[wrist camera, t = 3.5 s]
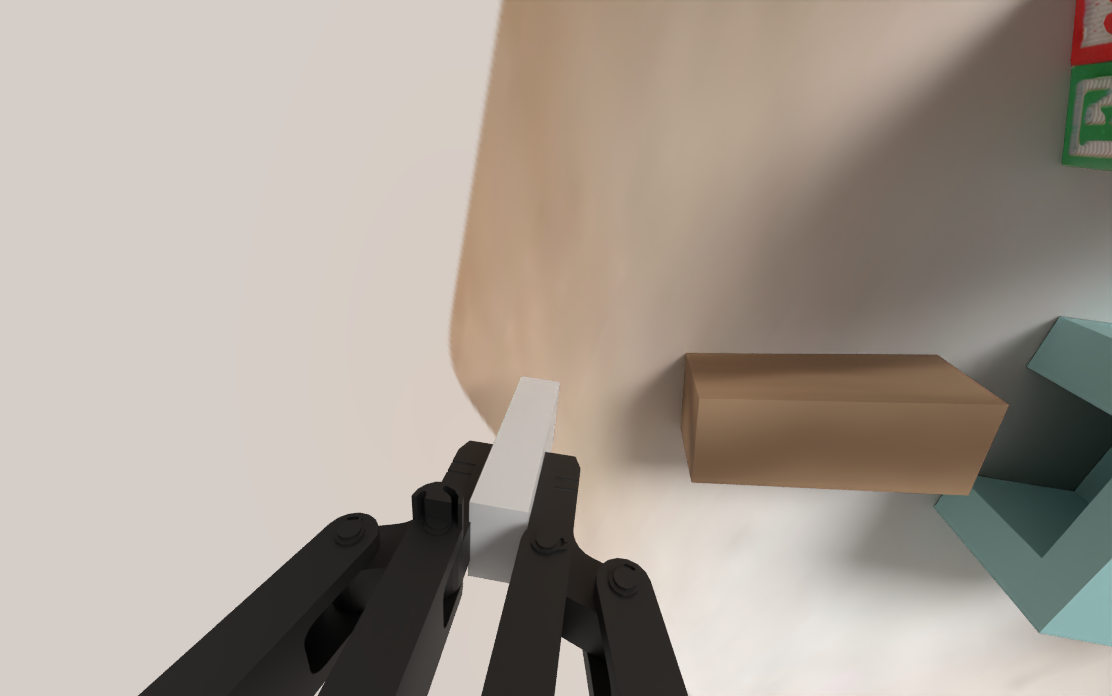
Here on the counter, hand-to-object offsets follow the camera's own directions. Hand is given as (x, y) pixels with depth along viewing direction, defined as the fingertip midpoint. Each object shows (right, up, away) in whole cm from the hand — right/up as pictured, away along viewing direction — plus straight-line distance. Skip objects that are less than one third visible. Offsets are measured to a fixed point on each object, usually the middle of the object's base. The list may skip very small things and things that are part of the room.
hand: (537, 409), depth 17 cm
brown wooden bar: (+12, 0, +3) cm, 12 cm away
